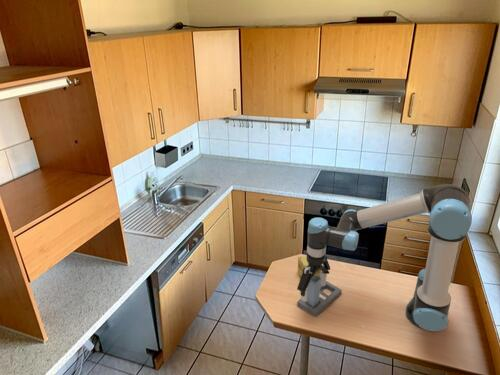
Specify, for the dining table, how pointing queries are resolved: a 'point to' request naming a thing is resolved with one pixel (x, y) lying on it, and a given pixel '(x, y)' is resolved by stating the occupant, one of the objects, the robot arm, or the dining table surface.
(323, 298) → the port panel
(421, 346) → the dining table surface
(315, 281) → the plug
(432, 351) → the dining table surface
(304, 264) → the cheese
